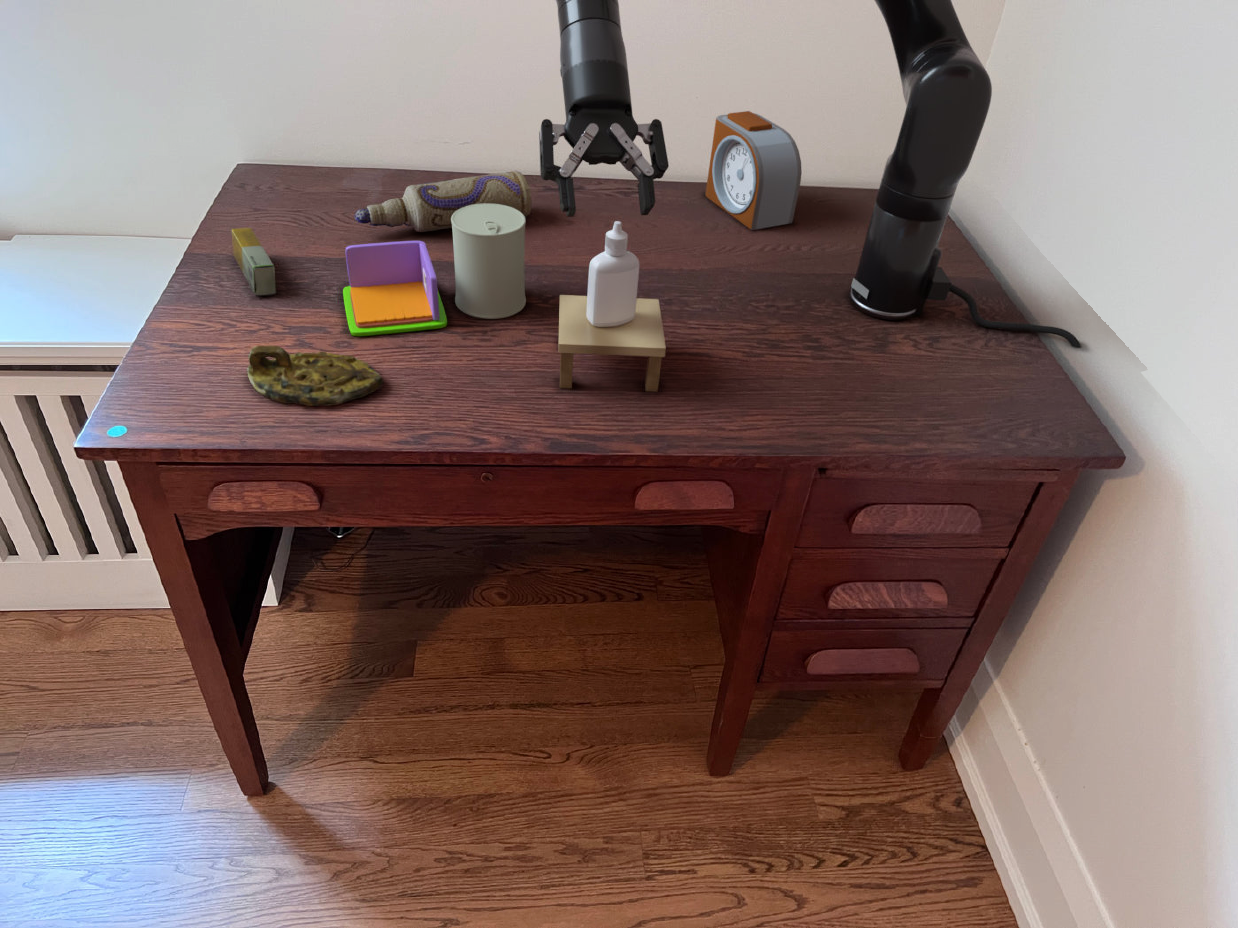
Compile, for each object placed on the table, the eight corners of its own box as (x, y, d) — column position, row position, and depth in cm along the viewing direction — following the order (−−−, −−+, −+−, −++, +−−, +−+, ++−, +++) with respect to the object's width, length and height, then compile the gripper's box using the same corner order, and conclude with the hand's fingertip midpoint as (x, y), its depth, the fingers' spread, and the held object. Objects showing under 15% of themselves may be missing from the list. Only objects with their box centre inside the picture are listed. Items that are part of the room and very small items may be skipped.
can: (460, 322, 112) (455, 233, 104) (450, 286, 118) (445, 201, 111) (532, 316, 114) (532, 229, 106) (518, 282, 121) (518, 197, 113)
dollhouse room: (434, 282, 119) (431, 234, 115) (449, 328, 110) (446, 279, 106) (341, 290, 116) (334, 241, 111) (350, 338, 107) (342, 287, 103)
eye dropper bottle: (633, 331, 101) (643, 233, 93) (584, 327, 101) (590, 229, 93) (635, 312, 104) (644, 216, 97) (587, 308, 104) (593, 211, 97)
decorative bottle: (515, 204, 140) (515, 162, 135) (533, 224, 135) (533, 182, 130) (350, 225, 130) (344, 181, 126) (363, 248, 125) (357, 203, 121)
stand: (653, 342, 111) (658, 299, 107) (660, 393, 103) (666, 348, 99) (558, 338, 110) (559, 294, 106) (556, 389, 102) (558, 343, 98)
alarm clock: (699, 193, 148) (710, 111, 140) (741, 187, 152) (754, 106, 143) (749, 230, 138) (764, 144, 130) (792, 222, 142) (810, 138, 133)
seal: (391, 370, 104) (260, 364, 103) (388, 334, 102) (254, 327, 100) (377, 410, 96) (235, 404, 95) (373, 371, 94) (227, 365, 93)
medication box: (277, 295, 114) (275, 266, 111) (255, 297, 112) (253, 268, 110) (253, 253, 121) (250, 225, 119) (232, 255, 120) (229, 227, 117)
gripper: (536, 56, 95) (550, 202, 94) (663, 57, 98) (679, 199, 97) (528, 91, 102) (542, 227, 101) (648, 91, 105) (662, 224, 104)
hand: (609, 213), depth 99 cm, fingers open, 8 cm apart
